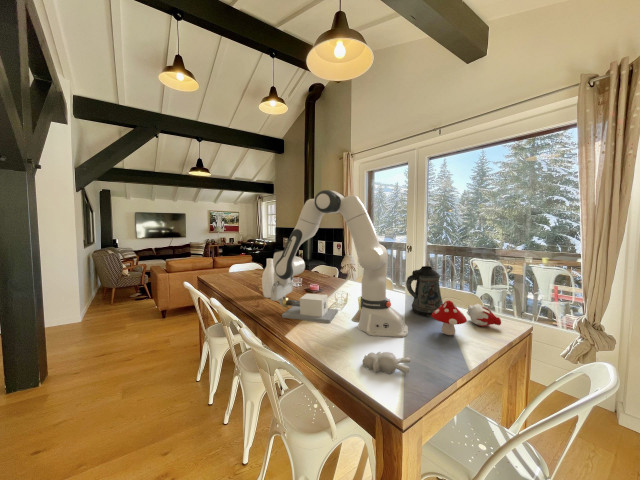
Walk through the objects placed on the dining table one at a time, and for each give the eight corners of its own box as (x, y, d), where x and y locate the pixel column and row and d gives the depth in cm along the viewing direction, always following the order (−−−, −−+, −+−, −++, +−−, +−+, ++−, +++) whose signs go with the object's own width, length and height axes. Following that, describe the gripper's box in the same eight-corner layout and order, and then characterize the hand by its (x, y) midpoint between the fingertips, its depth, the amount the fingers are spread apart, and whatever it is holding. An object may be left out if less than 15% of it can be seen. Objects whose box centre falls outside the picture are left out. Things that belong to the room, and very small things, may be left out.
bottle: (282, 295, 173) (281, 258, 172) (271, 299, 164) (270, 260, 162) (270, 293, 179) (269, 257, 178) (258, 297, 170) (257, 259, 168)
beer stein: (450, 313, 136) (451, 267, 135) (429, 321, 125) (430, 271, 124) (423, 305, 150) (423, 263, 148) (401, 312, 139) (402, 266, 137)
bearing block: (337, 312, 140) (337, 294, 139) (329, 323, 125) (329, 303, 124) (294, 307, 148) (294, 290, 147) (281, 317, 133) (281, 298, 132)
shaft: (316, 308, 138) (316, 298, 137) (313, 311, 133) (313, 301, 132) (286, 305, 143) (286, 296, 143) (282, 308, 138) (281, 298, 138)
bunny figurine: (366, 347, 92) (409, 350, 86) (368, 361, 92) (411, 365, 86) (359, 360, 83) (407, 364, 77) (361, 375, 83) (409, 381, 77)
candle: (466, 316, 130) (501, 327, 120) (460, 322, 122) (497, 335, 112) (469, 299, 129) (505, 309, 119) (463, 304, 121) (501, 316, 111)
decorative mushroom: (469, 343, 102) (470, 307, 101) (432, 338, 107) (432, 303, 106) (463, 330, 115) (464, 297, 114) (430, 326, 120) (430, 294, 119)
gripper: (278, 284, 129) (278, 310, 130) (294, 276, 149) (294, 299, 150) (267, 283, 131) (267, 309, 132) (284, 275, 151) (285, 298, 152)
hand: (282, 304), depth 141 cm, fingers closed, pressing on shaft
